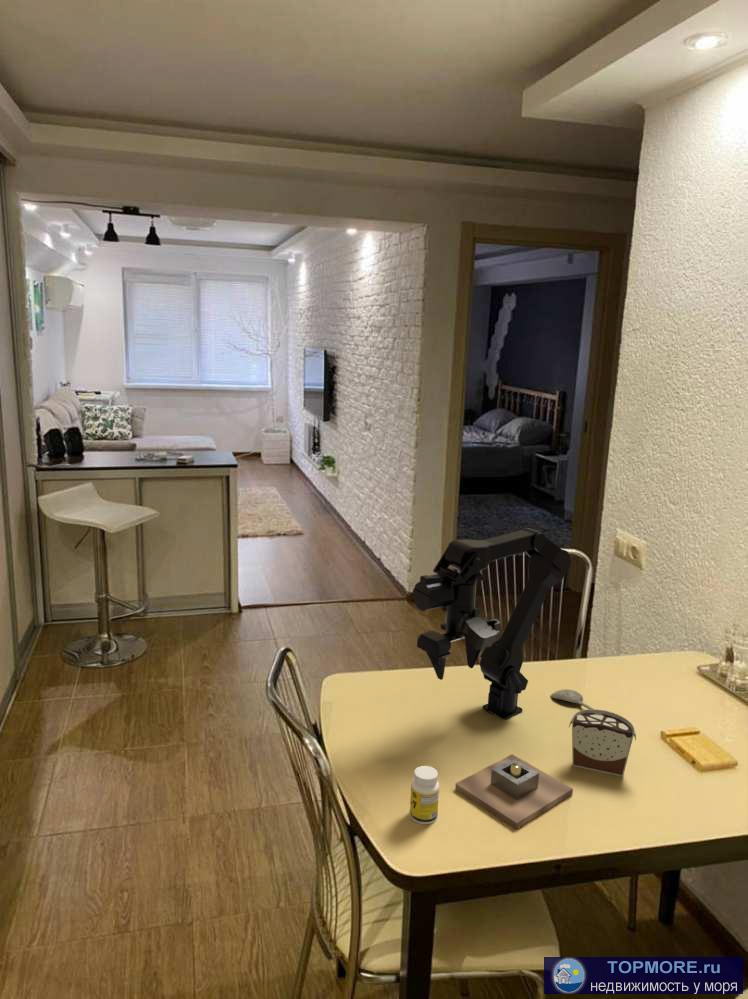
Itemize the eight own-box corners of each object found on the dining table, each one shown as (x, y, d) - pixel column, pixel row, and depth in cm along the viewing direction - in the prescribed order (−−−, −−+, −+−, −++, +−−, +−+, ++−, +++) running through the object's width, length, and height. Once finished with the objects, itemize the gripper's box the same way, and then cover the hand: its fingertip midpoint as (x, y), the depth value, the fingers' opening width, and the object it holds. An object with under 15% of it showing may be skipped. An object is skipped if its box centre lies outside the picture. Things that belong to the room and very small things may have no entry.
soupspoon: (565, 694, 173) (544, 700, 170) (566, 680, 172) (544, 687, 169) (638, 735, 154) (615, 743, 151) (639, 720, 153) (616, 728, 150)
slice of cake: (631, 761, 143) (637, 715, 141) (631, 778, 138) (637, 730, 135) (567, 748, 147) (571, 702, 145) (564, 764, 141) (569, 717, 139)
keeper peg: (513, 779, 134) (514, 760, 133) (525, 786, 131) (527, 767, 131) (503, 785, 132) (505, 765, 131) (515, 792, 130) (517, 772, 129)
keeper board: (511, 759, 142) (512, 754, 142) (572, 794, 132) (573, 788, 132) (455, 789, 132) (455, 783, 132) (516, 829, 122) (516, 823, 121)
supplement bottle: (407, 807, 126) (410, 764, 124) (434, 807, 127) (437, 763, 125) (411, 825, 122) (414, 780, 120) (439, 825, 122) (442, 780, 120)
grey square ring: (511, 772, 136) (513, 757, 135) (537, 787, 131) (539, 773, 131) (490, 783, 132) (491, 768, 131) (516, 800, 128) (517, 784, 127)
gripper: (458, 624, 136) (452, 701, 140) (521, 604, 148) (514, 675, 151) (417, 607, 144) (413, 679, 148) (479, 589, 156) (474, 657, 160)
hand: (455, 673), depth 151 cm, fingers open, 9 cm apart
